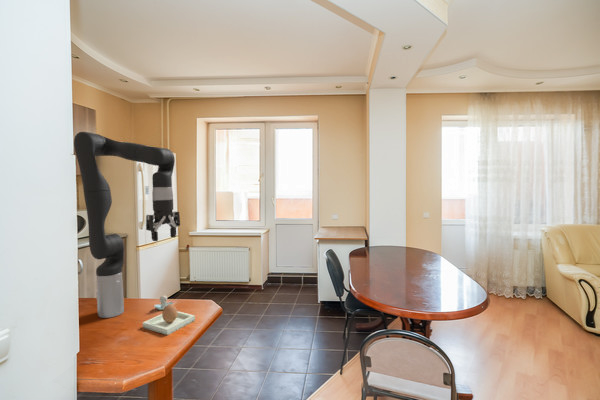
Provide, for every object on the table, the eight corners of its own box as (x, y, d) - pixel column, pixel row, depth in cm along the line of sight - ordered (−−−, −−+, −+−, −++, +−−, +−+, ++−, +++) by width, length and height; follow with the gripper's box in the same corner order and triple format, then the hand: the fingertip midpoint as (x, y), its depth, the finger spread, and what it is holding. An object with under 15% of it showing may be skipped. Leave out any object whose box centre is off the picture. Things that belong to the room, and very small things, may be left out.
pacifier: (154, 308, 138) (154, 312, 133) (153, 293, 138) (154, 298, 133) (172, 304, 142) (173, 309, 136) (171, 291, 141) (172, 295, 136)
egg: (161, 326, 119) (160, 308, 119) (164, 319, 124) (163, 302, 124) (176, 324, 120) (176, 306, 120) (178, 318, 126) (178, 301, 125)
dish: (143, 327, 119) (142, 322, 119) (171, 314, 131) (171, 309, 131) (167, 335, 113) (167, 329, 113) (194, 320, 125) (194, 315, 125)
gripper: (170, 197, 133) (172, 235, 134) (140, 199, 120) (142, 241, 122) (183, 197, 130) (185, 236, 131) (153, 200, 117) (155, 243, 118)
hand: (164, 239), depth 126 cm, fingers open, 8 cm apart
